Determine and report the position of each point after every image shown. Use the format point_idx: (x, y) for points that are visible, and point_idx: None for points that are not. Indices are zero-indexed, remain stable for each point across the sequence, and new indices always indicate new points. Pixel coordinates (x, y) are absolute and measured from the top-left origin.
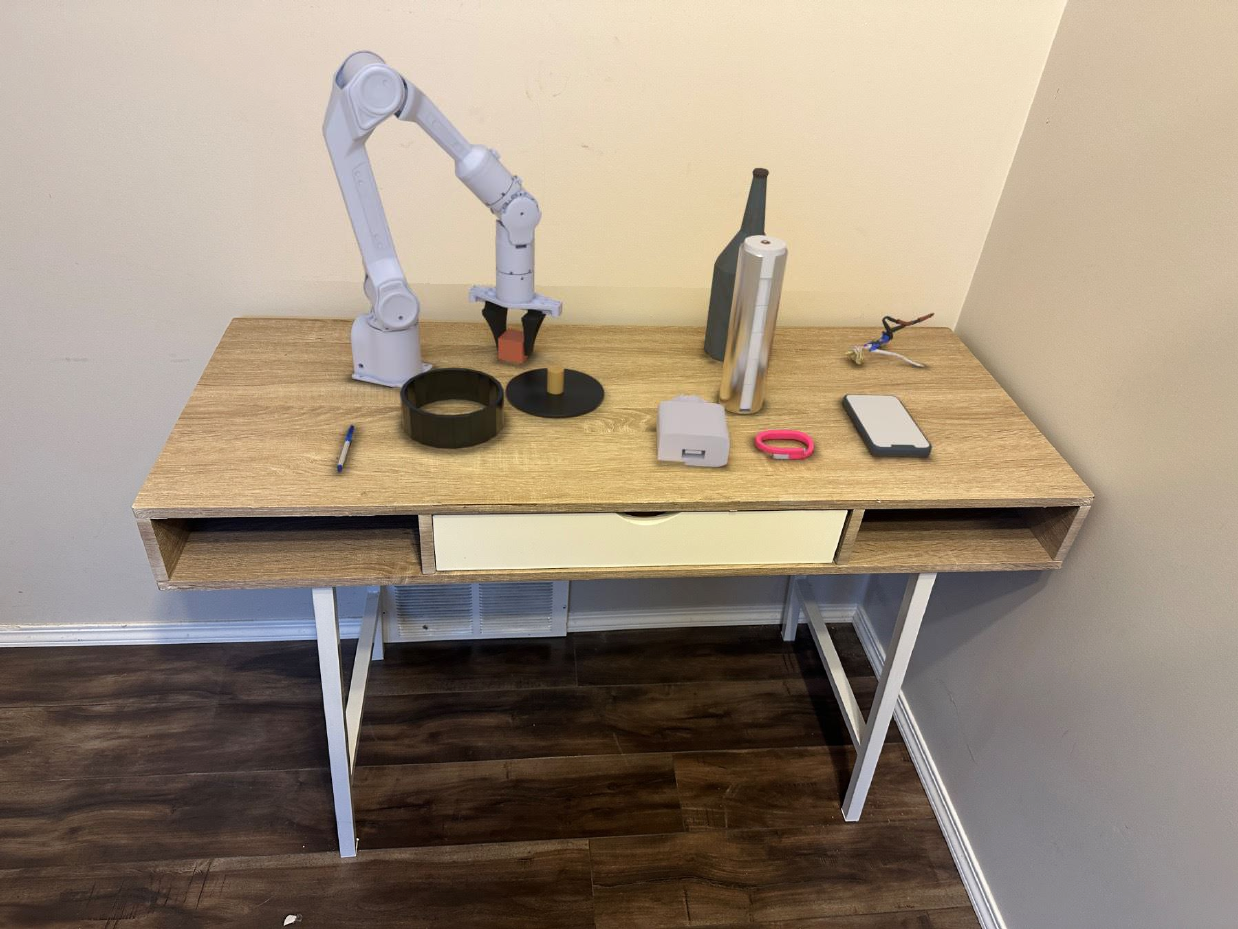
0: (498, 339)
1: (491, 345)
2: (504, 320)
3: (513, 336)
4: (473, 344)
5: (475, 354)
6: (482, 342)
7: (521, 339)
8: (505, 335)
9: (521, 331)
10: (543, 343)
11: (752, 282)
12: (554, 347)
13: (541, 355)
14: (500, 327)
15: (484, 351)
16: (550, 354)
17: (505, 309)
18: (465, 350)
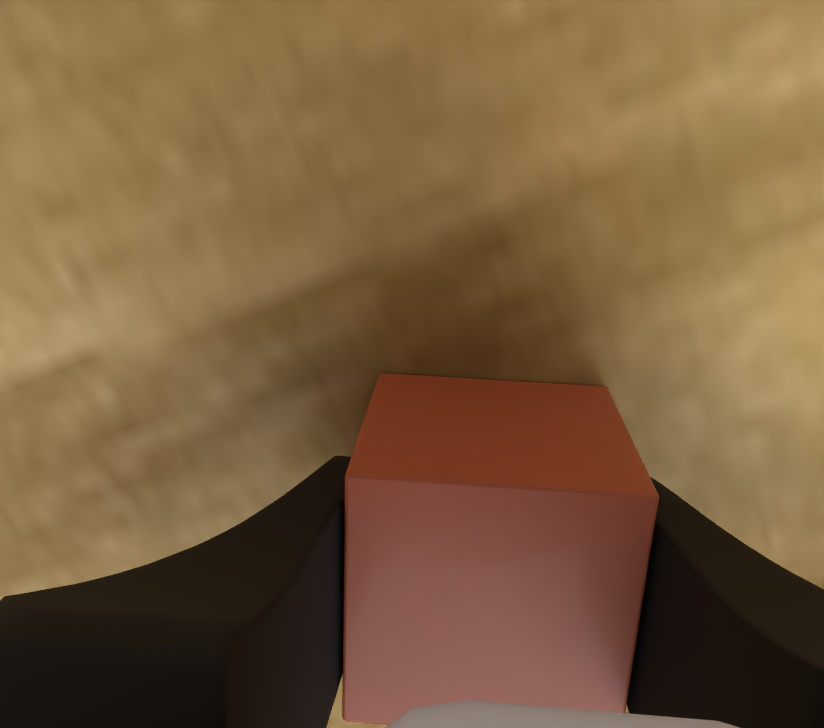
0: (348, 714)
1: (195, 314)
2: (307, 636)
3: (480, 642)
4: (49, 351)
5: (155, 508)
6: (96, 286)
7: (588, 679)
8: (389, 647)
9: (525, 500)
10: (650, 82)
11: None
12: (784, 131)
13: (691, 344)
14: (314, 707)
15: (194, 439)
16: (772, 296)
17: (267, 710)
18: (51, 472)
